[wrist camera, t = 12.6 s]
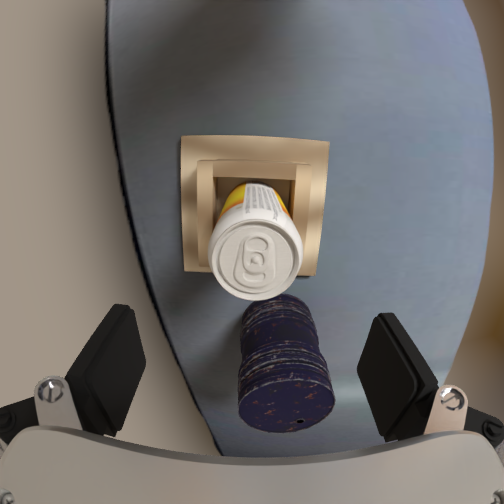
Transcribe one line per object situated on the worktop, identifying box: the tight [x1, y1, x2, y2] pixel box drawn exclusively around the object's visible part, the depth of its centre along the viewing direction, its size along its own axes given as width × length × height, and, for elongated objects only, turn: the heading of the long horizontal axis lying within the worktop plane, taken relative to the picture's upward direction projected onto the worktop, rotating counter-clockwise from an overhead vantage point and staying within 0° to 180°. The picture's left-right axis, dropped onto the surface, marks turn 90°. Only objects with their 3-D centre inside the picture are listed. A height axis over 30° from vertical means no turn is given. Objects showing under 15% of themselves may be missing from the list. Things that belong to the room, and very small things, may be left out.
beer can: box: [208, 180, 303, 301], centre depth 24 cm, size 6×6×15 cm
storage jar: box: [238, 293, 335, 433], centre depth 31 cm, size 10×10×15 cm
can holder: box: [181, 135, 329, 276], centre depth 29 cm, size 16×16×5 cm
